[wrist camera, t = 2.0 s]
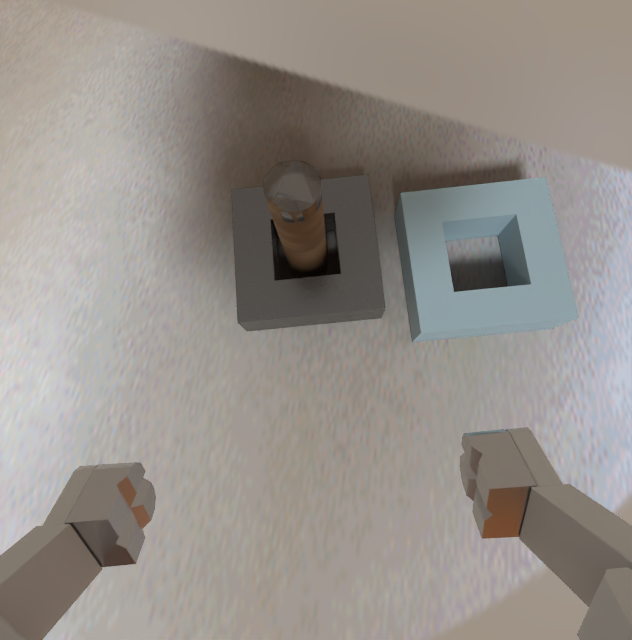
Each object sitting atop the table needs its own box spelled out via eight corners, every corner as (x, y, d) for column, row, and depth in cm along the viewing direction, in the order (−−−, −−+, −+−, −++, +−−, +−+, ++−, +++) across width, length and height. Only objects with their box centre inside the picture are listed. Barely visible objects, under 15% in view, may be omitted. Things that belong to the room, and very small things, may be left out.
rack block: (412, 342, 31) (421, 332, 27) (394, 215, 33) (400, 192, 30) (552, 328, 30) (578, 317, 27) (524, 201, 33) (546, 176, 29)
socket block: (247, 331, 32) (237, 322, 29) (240, 208, 34) (231, 189, 31) (381, 318, 31) (385, 308, 28) (365, 195, 33) (368, 174, 31)
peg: (290, 281, 32) (265, 215, 22) (287, 245, 33) (261, 163, 22) (329, 277, 32) (323, 209, 21) (325, 241, 33) (318, 157, 22)
